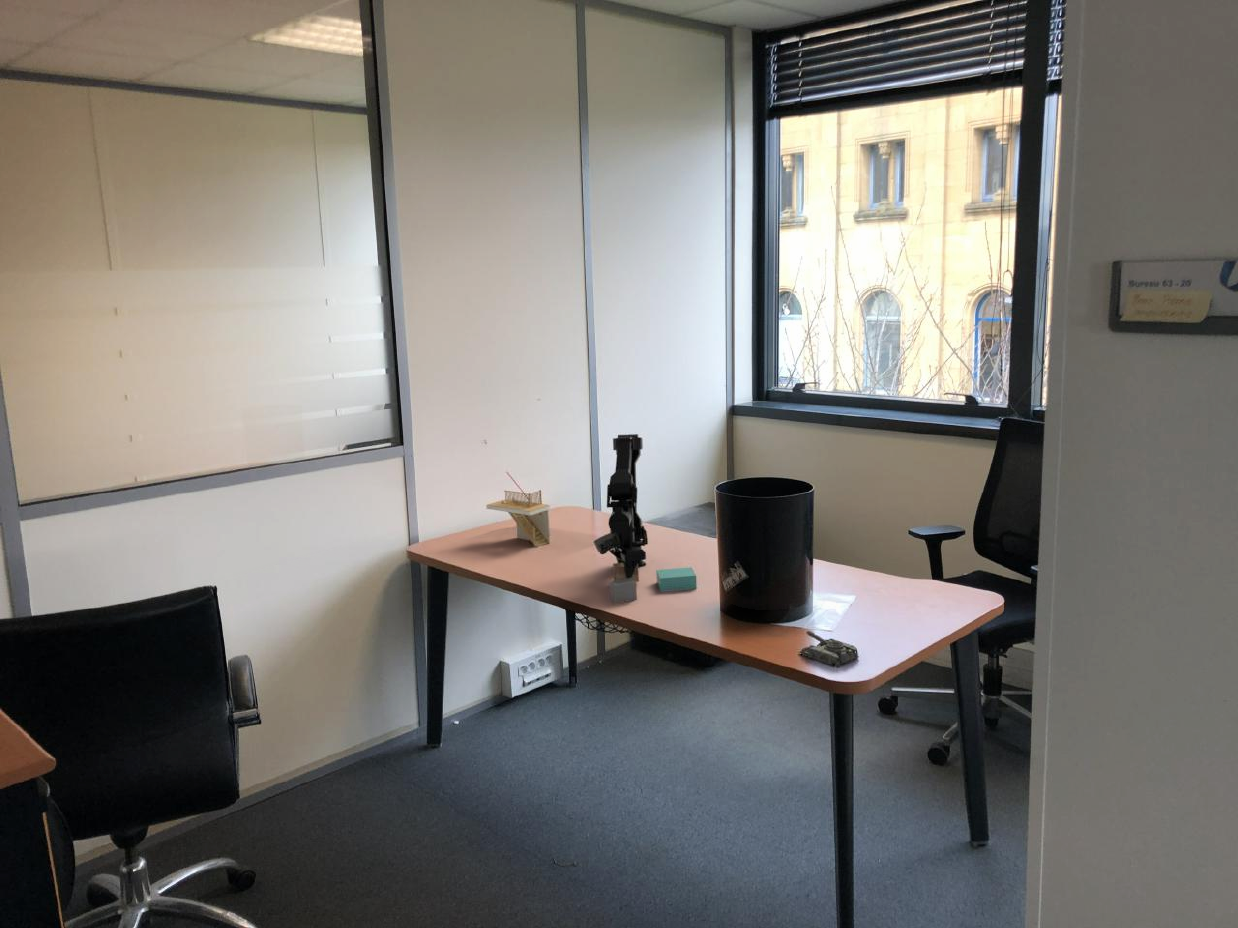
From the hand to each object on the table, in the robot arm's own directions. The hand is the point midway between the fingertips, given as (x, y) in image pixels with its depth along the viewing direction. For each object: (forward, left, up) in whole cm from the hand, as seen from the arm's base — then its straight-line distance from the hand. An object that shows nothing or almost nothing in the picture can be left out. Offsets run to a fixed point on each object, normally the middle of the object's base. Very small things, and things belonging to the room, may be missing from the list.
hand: (626, 577), depth 272 cm
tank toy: (+71, +23, -3) cm, 74 cm away
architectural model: (-58, -15, -3) cm, 60 cm away
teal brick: (+8, +12, -2) cm, 15 cm away
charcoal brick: (+12, -5, -2) cm, 13 cm away
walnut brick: (0, 0, -1) cm, 1 cm away
